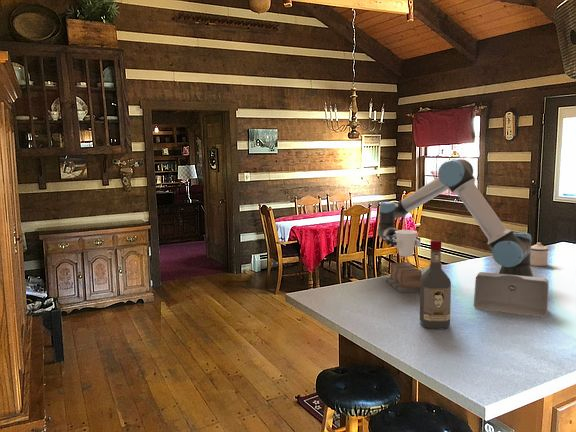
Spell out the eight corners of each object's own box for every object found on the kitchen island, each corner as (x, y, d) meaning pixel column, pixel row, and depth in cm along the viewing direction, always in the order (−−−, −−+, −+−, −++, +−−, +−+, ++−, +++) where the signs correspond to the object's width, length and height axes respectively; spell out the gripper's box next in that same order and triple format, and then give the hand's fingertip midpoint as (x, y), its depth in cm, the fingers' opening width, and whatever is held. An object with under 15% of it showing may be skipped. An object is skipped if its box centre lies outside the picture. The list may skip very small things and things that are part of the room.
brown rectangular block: (386, 281, 222) (386, 263, 221) (410, 280, 223) (411, 262, 222) (399, 292, 204) (399, 272, 203) (425, 291, 205) (426, 271, 204)
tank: (547, 305, 183) (548, 274, 181) (547, 317, 169) (548, 284, 168) (479, 297, 195) (479, 268, 194) (473, 308, 181) (474, 276, 180)
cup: (415, 253, 216) (415, 229, 215) (418, 258, 207) (419, 233, 205) (393, 253, 217) (393, 229, 216) (396, 257, 208) (396, 233, 206)
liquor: (418, 320, 169) (419, 238, 166) (443, 319, 169) (445, 238, 165) (424, 329, 160) (426, 243, 157) (451, 329, 160) (453, 242, 156)
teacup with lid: (547, 263, 251) (548, 241, 249) (547, 266, 243) (548, 244, 241) (522, 261, 256) (523, 240, 255) (522, 265, 248) (522, 243, 247)
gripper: (414, 242, 230) (432, 251, 208) (372, 244, 228) (386, 253, 206) (414, 227, 229) (433, 235, 207) (372, 229, 227) (386, 237, 205)
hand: (409, 244), depth 207 cm, fingers closed on cup, 8 cm apart
